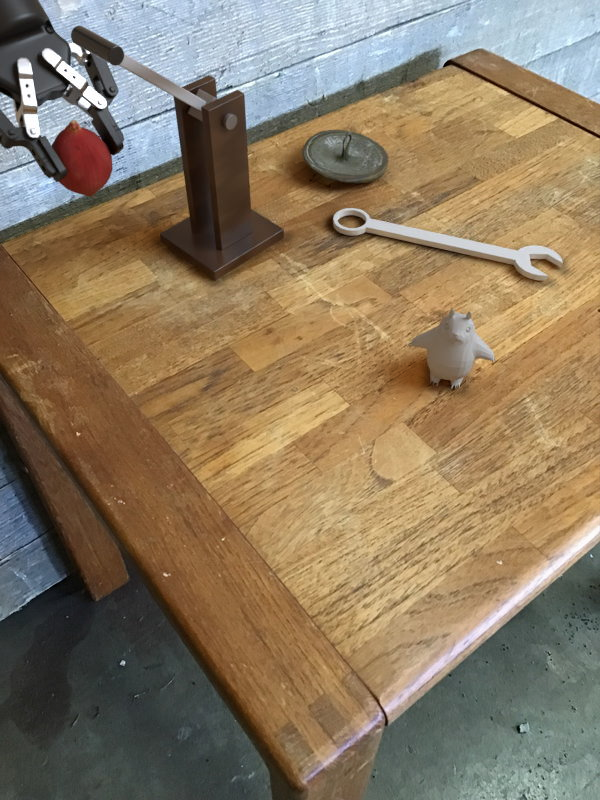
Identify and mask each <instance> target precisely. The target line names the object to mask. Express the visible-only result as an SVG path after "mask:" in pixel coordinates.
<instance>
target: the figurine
mask: <svg viewBox="0 0 600 800" xmlns="http://www.w3.org/2000/svg"><path fill="white" fill-rule="evenodd" d="M407 346H408V347H407V350H409V349H410V348H412V347H414V348H419V349H420V348H421V349H425V350H427V351H426V352H427V353H426V362H427V367H428V369H429V378H430V379H429V380H430V381H429V383H430V384H431V383H432V385H433V386H434V385H435V383H436V386H438V385H439V383H440V381H441V380H446V381H450V385H451V388H450V389H451V390H453V387H454V389H455V390H456V389H457V387H458V389H460V387H461V384H462V382H463V380H464V377H466V376H467V375H468V374H469V373H470V372H471V370H472V369H473V366H474V363H475V361H476V359H482V360H486V361H491V363H493V364H495V362H497V358H495V353H494V351H493V349H491V348H490V346H489V345H488V344H487V343H486V342H485V341H484V340H483V339H482V338H481V337H480V336H479V334H478V333H476V326H475V322H474V320H473V319H472V312H471V311H468V312H467V313H466V314H465V313H462V312H455V309H454V308H451V309H450V310H449V311H448V314H446V315H445V316H444V317H442V319H440V322H439V324H438V325H437V326H435V327H433V328H431V329H429V330H427V331H425V332H421V333H420V334H418V335H416V336H415V337H413V338H412V340H411V342H409V343H407Z"/></svg>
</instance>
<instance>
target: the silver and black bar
mask: <svg viewBox="0 0 600 800" xmlns="http://www.w3.org/2000/svg"><path fill="white" fill-rule="evenodd" d="M70 38H71V42H73V43H74V44H76V45H78V46H79V47H81V48H83V49H85V50H87V51H88V52H90V53H92V54H94V55H95V56H97V57H99V58H101V59H103V60H104V61H106V62H107V64H110V65H112V66H113V67H114V66H115V67H116V66H119V67H121V68H122V69H124V70H126V71H128V72H130V73H131V74H133V75H135V76H137V77H138V78H140V79H142V80H144V81H146V82H147V83H149V84H151V85H153V86H154V87H156V88H158V89H160V90H162V91H163V92H165V93H167V94H169V95H170V96H172V97H173V96H174V97H176V98H177V99H179V100H181V101H183V102H185V103H186V104H188V105H190V106H191V107H190V109H189V112H188V114H190V115H192V116H193V117H195V118H197V119H199V120H200V121H202V122H203V120H202V110H201V107H202V106H204V105H206V104H208V103H210V102H213V101H215V100H217V99H218V97H217V98H215V97H213V96H212V95H210V94H208V93H206V92H204V91H202V90H200V89H199V90H198V92H197V94H196V95H194V94H192V93H191V92H189V91H187V90H186V89H184V88H182V87H183V86H180V85H179V84H177V83H176V82H174V81H172V80H171V79H169V78H167V77H165V76H163V74H160V73H159V72H157V71H155V70H153V69H152V68H150V67H149V66H147V65H145V64H143V63H142V62H140V61H138V60H136V59H135V58H134V57H131V56H130V55H128V54H126V53H125V52H124V49H123V48H122V47H121V46H119V45H118V44H116V43H115V42H112V41H110V39H109V40H108V39H107V38H105V37H103V36H101V35H99V34H97V33H95V32H94V31H92V30H90V29H88V28H86V27H85V26H83V25H75V26H74V27H73V29H71V32H70ZM174 97H173V98H174Z"/></svg>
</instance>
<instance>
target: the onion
mask: <svg viewBox="0 0 600 800" xmlns="http://www.w3.org/2000/svg"><path fill="white" fill-rule="evenodd" d="M51 146H52V147H53V149H54V151H55V152H56V154H57V155H58V157H59V159H60V160H61V162H62V163H63V165H64V166H65V168H66V170H67V175H66V177H65V178H64V179H63V180H61V181H58V182H57V183H59V184H60V185H62V186H63V188H65V189H66V190H68V191H70V192H72V193H75V194H78V195H83V196H86V197H88V198H89V197H93V196H95V195H96V194H97V193H98V192H99V191H100V190H101V189H102V188H104V187H105V186H106V184H107V183H108V182H109V181H110V180H109V179H110V178H111V176H112V173H113V169H114V168H113V157H112V156H113V155H111V153H110V150H109V148H108V146H107V145H106V144H105V142H104V141H103V140H102V139H101V138H100V136H99V134H98V133H97V132H94V131H92V129H89V128H86V127H84V126H81V125H80V124H79V123H78V120H77V119H73V120H71V121H69V123H68V124H67V126H65V128H64V129H62V130H61V131H60V132H58V134H57V135H56V137H55V139H54V141H53V142H52V144H51Z"/></svg>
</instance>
